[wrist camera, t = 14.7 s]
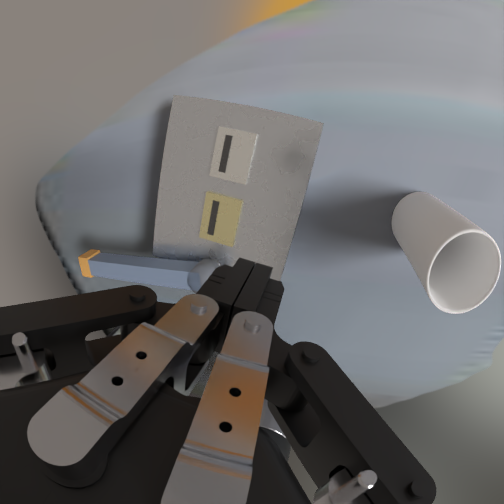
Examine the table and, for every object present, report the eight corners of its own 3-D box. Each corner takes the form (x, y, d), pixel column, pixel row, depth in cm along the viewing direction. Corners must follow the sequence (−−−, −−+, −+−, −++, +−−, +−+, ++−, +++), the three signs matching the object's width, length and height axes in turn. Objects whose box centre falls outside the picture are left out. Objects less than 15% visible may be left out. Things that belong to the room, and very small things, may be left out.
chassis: (280, 279, 43) (274, 298, 38) (168, 243, 45) (150, 258, 40) (323, 124, 34) (323, 123, 29) (190, 98, 36) (171, 94, 31)
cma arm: (221, 259, 37) (212, 270, 34) (223, 284, 39) (215, 297, 36) (90, 248, 42) (77, 255, 39) (95, 268, 44) (83, 277, 41)
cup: (380, 231, 37) (408, 290, 23) (411, 179, 33) (462, 211, 19) (424, 260, 37) (465, 326, 22) (455, 212, 33) (514, 259, 19)
